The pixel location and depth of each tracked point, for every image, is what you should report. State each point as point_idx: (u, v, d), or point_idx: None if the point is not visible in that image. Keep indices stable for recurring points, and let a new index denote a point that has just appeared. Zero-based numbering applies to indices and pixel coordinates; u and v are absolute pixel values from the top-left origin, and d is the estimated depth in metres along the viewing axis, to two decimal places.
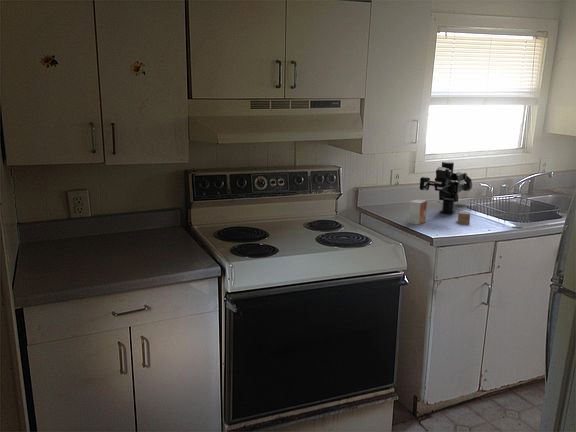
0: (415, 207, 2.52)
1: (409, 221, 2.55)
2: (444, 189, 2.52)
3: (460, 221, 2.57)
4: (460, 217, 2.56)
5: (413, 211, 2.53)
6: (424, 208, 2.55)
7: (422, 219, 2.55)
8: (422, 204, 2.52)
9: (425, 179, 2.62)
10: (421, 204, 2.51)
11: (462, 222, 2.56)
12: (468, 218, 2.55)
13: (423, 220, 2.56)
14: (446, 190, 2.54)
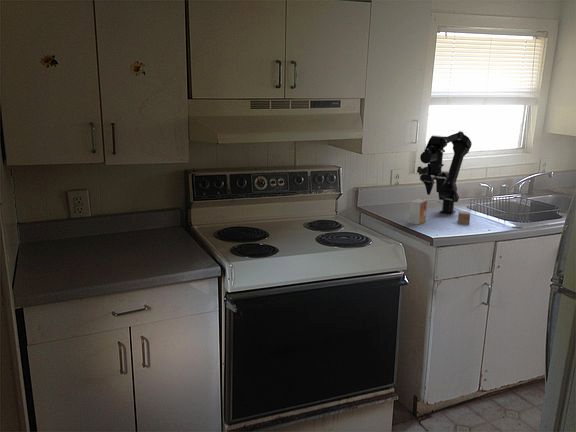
0: (415, 207, 2.52)
1: (409, 221, 2.55)
2: (428, 192, 2.61)
3: (460, 221, 2.57)
4: (460, 217, 2.56)
5: (413, 211, 2.53)
6: (424, 208, 2.55)
7: (422, 219, 2.55)
8: (422, 204, 2.52)
9: None
10: (421, 204, 2.51)
11: (462, 222, 2.56)
12: (468, 218, 2.55)
13: (423, 220, 2.56)
14: (429, 189, 2.59)
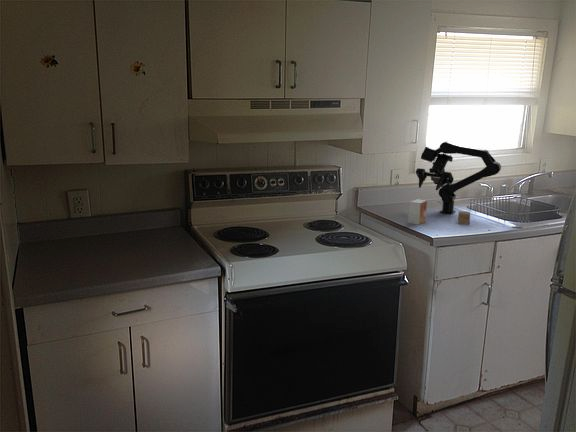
0: (415, 207, 2.52)
1: (409, 221, 2.55)
2: None
3: (460, 221, 2.57)
4: (460, 217, 2.56)
5: (413, 211, 2.53)
6: (424, 208, 2.55)
7: (422, 219, 2.55)
8: (422, 204, 2.52)
9: None
10: (421, 204, 2.51)
11: (462, 222, 2.56)
12: (468, 218, 2.55)
13: (423, 220, 2.56)
14: None
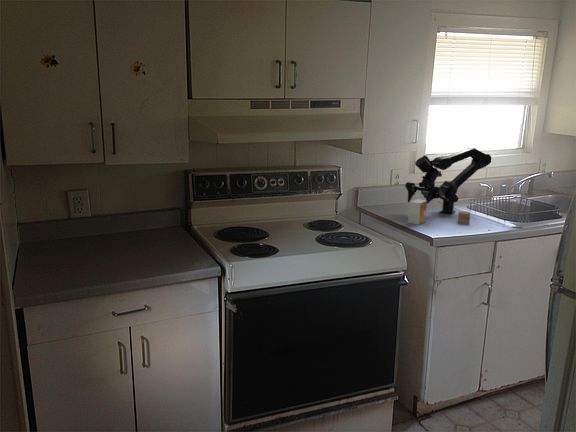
0: (415, 207, 2.52)
1: (409, 221, 2.55)
2: None
3: (460, 221, 2.57)
4: (460, 217, 2.56)
5: (413, 211, 2.53)
6: (424, 208, 2.55)
7: (422, 219, 2.55)
8: (422, 204, 2.52)
9: None
10: (421, 204, 2.51)
11: (462, 222, 2.56)
12: (468, 218, 2.55)
13: (423, 220, 2.56)
14: None
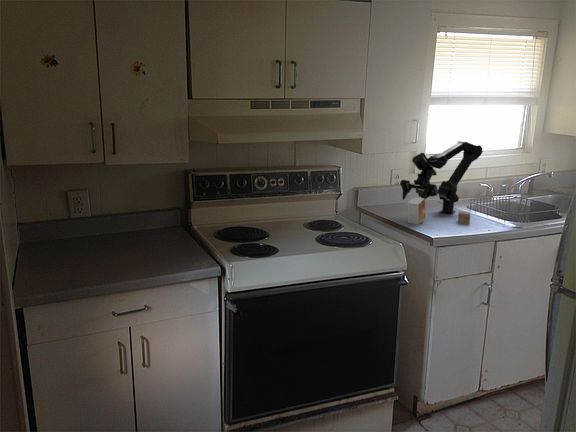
0: (413, 208, 2.51)
1: (409, 221, 2.55)
2: None
3: (460, 221, 2.57)
4: (460, 217, 2.56)
5: (412, 212, 2.52)
6: (423, 207, 2.53)
7: (421, 218, 2.54)
8: (420, 204, 2.50)
9: None
10: (419, 205, 2.50)
11: (462, 222, 2.56)
12: (468, 218, 2.55)
13: (422, 218, 2.56)
14: None
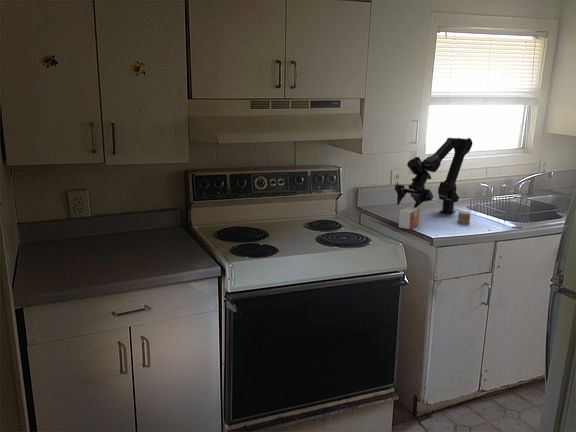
0: None
1: None
2: None
3: (460, 221, 2.57)
4: (460, 217, 2.56)
5: None
6: (413, 217, 2.46)
7: (417, 218, 2.50)
8: (410, 224, 2.45)
9: None
10: (410, 226, 2.45)
11: (462, 222, 2.56)
12: (468, 218, 2.55)
13: (418, 215, 2.51)
14: None
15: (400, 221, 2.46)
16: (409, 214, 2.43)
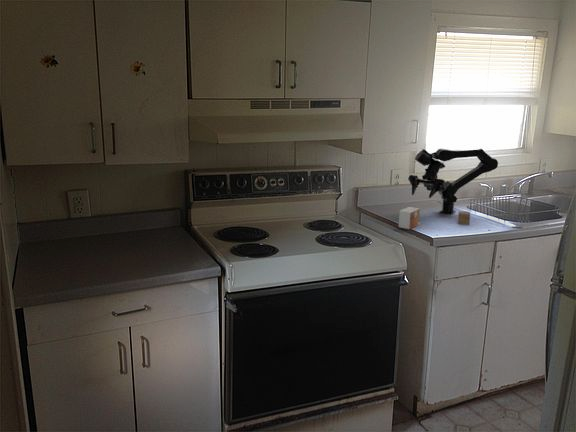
0: None
1: None
2: None
3: (460, 221, 2.57)
4: (460, 217, 2.56)
5: None
6: (413, 217, 2.46)
7: (417, 218, 2.50)
8: (410, 224, 2.45)
9: None
10: (410, 226, 2.45)
11: (462, 222, 2.56)
12: (468, 218, 2.55)
13: (418, 215, 2.51)
14: None
15: (400, 221, 2.46)
16: (409, 214, 2.43)
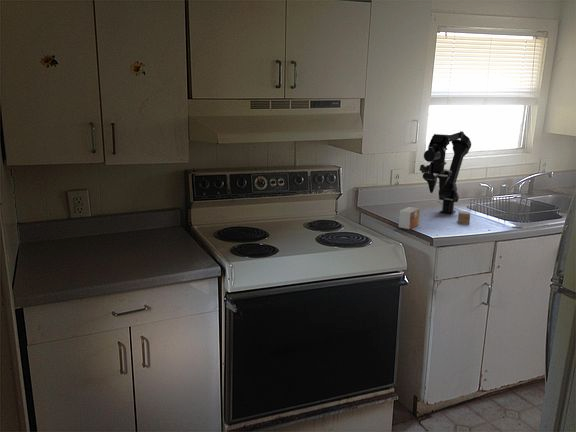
0: None
1: None
2: (431, 191, 2.61)
3: (460, 221, 2.57)
4: (460, 217, 2.56)
5: None
6: (413, 217, 2.46)
7: (417, 218, 2.50)
8: (410, 224, 2.45)
9: None
10: (410, 226, 2.45)
11: (462, 222, 2.56)
12: (468, 218, 2.55)
13: (418, 215, 2.51)
14: (432, 188, 2.59)
15: (400, 221, 2.46)
16: (409, 214, 2.43)
